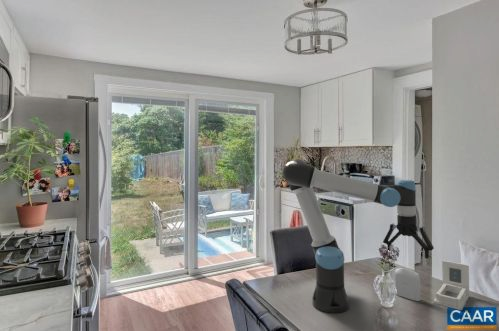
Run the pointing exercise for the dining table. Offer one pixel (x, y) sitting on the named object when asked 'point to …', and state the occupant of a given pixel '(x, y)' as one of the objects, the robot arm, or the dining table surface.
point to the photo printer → (407, 284)
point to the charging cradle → (453, 285)
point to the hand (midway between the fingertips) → (407, 262)
